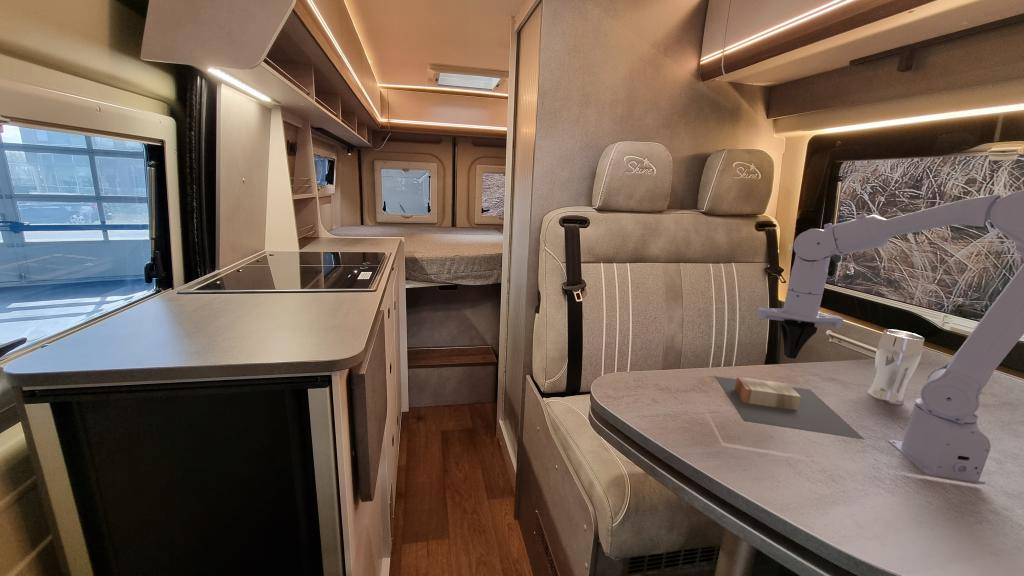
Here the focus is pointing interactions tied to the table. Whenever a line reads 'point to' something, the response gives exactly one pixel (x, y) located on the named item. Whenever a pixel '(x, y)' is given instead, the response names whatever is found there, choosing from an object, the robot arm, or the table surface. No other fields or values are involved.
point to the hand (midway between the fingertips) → (789, 356)
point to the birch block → (767, 393)
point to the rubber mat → (792, 413)
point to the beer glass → (895, 364)
